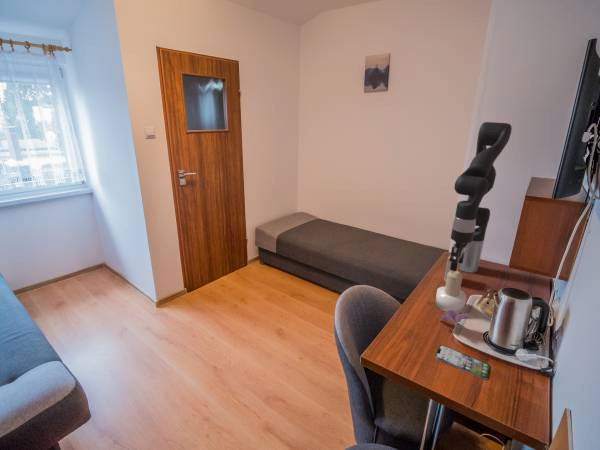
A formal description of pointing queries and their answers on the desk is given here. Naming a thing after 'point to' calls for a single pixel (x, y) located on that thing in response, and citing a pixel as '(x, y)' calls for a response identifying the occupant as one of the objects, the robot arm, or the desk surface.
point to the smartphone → (463, 362)
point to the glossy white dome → (450, 301)
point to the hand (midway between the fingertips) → (456, 266)
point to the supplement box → (449, 267)
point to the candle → (453, 283)
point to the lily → (454, 317)
